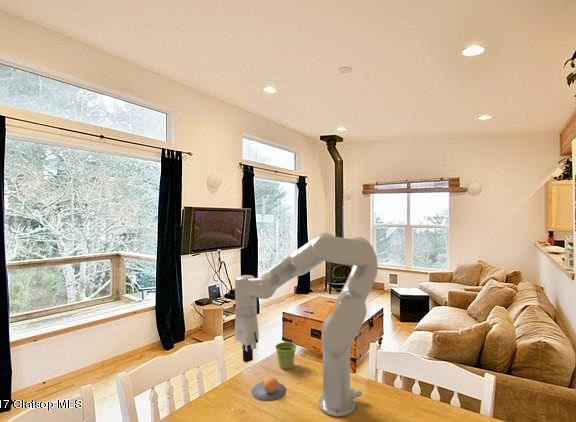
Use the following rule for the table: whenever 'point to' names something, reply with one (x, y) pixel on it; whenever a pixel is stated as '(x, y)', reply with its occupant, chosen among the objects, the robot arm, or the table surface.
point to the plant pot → (285, 354)
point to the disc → (261, 393)
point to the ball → (271, 385)
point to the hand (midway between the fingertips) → (247, 360)
